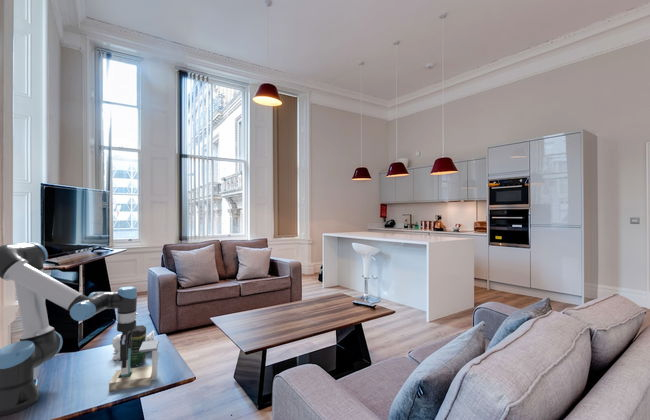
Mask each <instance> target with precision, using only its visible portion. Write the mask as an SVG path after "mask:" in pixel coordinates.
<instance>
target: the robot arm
mask: <svg viewBox="0 0 650 420" xmlns="http://www.w3.org/2000/svg"><path fill="white" fill-rule="evenodd" d="M48 257H49V254H48V251H47V249H46V248H45V246H43V245H42V244H40V243H37V242H33V241H27V242H24V241H23V242H18V243H10V244H2V245H0V278H1V279H2V280H4V281H13V282H14V286H15V292H16V298H17V303H18V309H19V315H20V316H19V317H20V320H21V327H22V332H23V333H22V334H21V335H20V336H19V341H16V342H14V343H9V344H7V345H5V346H3V347H1V348H0V417H2V416H6V415H11V414H14V413H17V412H20V411H23V410H25V409H27V408H29V407H30V406H33V405H34V404H35V403H36V402H37V401H38V400H39V398H40V396H39V395H40V392H39V389H38V387H37V384H36V383H35V381H34V373H35V368H37V367H39V366H41V365H42V364H44V363H45V362H47V361H49V360H51V359H52V358H54V357H55V356H56V355H58V353H60V350H61V349H62V347H63V342H64V341H63V337H62V335H61V334H60V333H58V332H57V331H56V330H55V327H53V326H52V325H50V324H49V318H48V310H47V306H46V300H48V301H50V302H52V303H53V304H55V305H58V306H59V307H61V308H62V309H65V310H66V311H69V315H70V318H71V319H73V320H74V321H77V322H82V321H86V320H88V319H90V318H92V317H94V316H95V315H96V314H99V313H101V312H102V311H104V310H107V309H108V310H111V309H112V310H114V309H116V310H117V313H116V315H117V316H116V322H117V323H116V330H117V332H119V333H120V332H121V334H122V335H121V338H120V339H121V340H120V359H118V362H120V370H121V375H124V374H128V348H130V349H131V346H132V330H134V329H135V328H136V326H137V315H138V314H139V313H138V312H137V303H138V302H137V301H138V290H137V287H135V286H121V287H119V288H118V290H117V291H93V292H91V293H89V295H88V296H86V295H84V294H83V293H81V292H80V291H77V290H76V289H73V288H72V287H70V286H68V285H67V284H65V283H63V282H61V281H59V280H57V279H55V278H54V277H52V276H51V275H48V274H46V272H45V273H44V272H43V271H44V270H45V268H44V264H45V263H46V261H47V260H48ZM45 299H46V300H45ZM131 354H132V352H131Z"/></svg>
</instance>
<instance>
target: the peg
mask: <svg viewBox="0 0 650 420" xmlns="http://www.w3.org/2000/svg"><path fill="white" fill-rule="evenodd" d="M130 358H131V349H130V348H128V374H124V375H121V378H124V377H130V368H131V366H130Z"/></svg>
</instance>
